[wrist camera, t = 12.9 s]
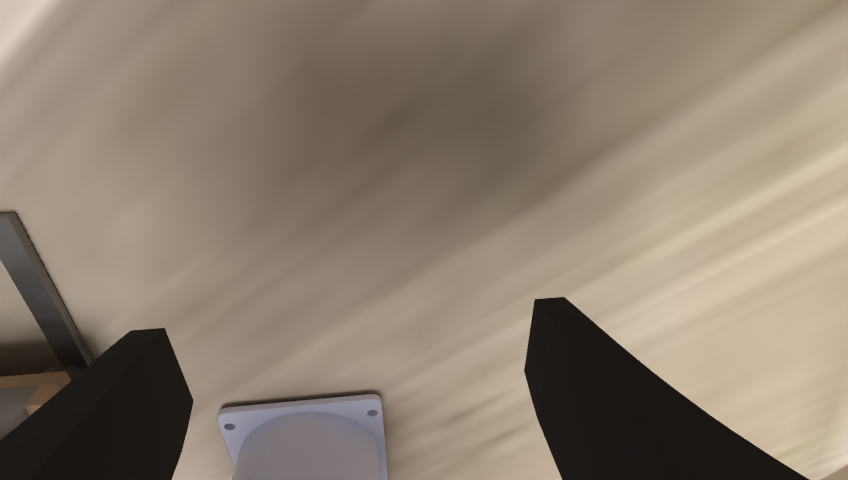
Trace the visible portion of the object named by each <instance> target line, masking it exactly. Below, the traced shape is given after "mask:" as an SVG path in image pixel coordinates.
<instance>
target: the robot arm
mask: <svg viewBox="0 0 848 480" xmlns="http://www.w3.org/2000/svg"><path fill="white" fill-rule="evenodd" d="M524 371H525V375H526V379H527V383H528V387H529V390H530V394H531V398H532V401H533V405H534V408H535V412H536V415H537V418H538V421H539V423H540V426H541V428H542V431H543V433H544V436H545V438H546V441H547V443H548V446H549V448H550V451H551V453H552V456H553V458H554V460H555V463H556V465H557V468H558V470H559V473H560V475H561V477H562V480H809V479H807V478H806V477H804V476H802V475H801V474H799V473H797V472H796V471H794V470H792V469H791V468H789V467H788V466H786V465H784V464H783V463H781V462H779V461H778V460H776V459H775V458H773V457H772V456H770V455H769V454H767V453H765V452H764V451H762V450H761V449H759V448H758V447H756V446H755V445H753V444H752V443H750V442H749V441H747V440H746V439H744V438H743V437H741V436H740V435H738V434H737V433H735V432H734V431H732V430H730V429H729V428H728V427H726V426H725V425H723V424H722V423H720V422H719V421H718V420H716V419H715V418H713V417H712V416H710V415H709V414H708V413H706V412H705V411H703V410H702V409H701V408H699V407H698V406H697V405H695V404H694V403H693V402H691V401H690V400H689V399H687V398H686V397H685V396H683V395H682V394H681V393H679V392H678V391H677V390H675V389H674V388H673V387H671V386H670V385H669V384H667V383H666V382H665V381H664V380H662V379H661V378H660V377H658V376H657V375H656V374H655V373H653V372H652V371H651V370H650V369H648V368H647V367H646V366H645V365H643V364H642V363H641V362H640V361H639V360H637V359H636V358H635V357H634V356H632V355H631V354H630V353H629V352H628V351H626V350H625V349H624V348H623V347H622V346H620V345H619V344H618V343H617V342H616V341H615V340H613V339H612V338H611V337H610V336H609V335H608V334H606V333H605V332H604V331H603V330H602V329H601V328H599V327H598V326H597V325H596V324H595V323H594V322H593V321H591V320H590V319H589V318H588V317H587V316H586V315H585V314H583V313H582V312H581V311H580V310H579V309H578V308H576V307H575V306H574V305H573V304H572V303H571V302H569V301H568V300H567V299H566V298H565V297H559V298H546V299H535V301H534V308H533V315H532V322H531V329H530V336H529V342H528V349H527V356H526V363H525V370H524ZM192 406H193V398H192V396H191V393H190V391H189V388H188V386H187V383H186V381H185V378H184V376H183V373H182V371H181V368H180V366H179V363H178V361H177V358H176V356H175V353H174V351H173V348H172V346H171V343H170V341H169V338H168V336H167V333H166V331H165V328H159V329H146V330H133V331H130V332H129V333H127V334H126V335H125V336H123V337H122V338H121V339H120V340H118V341H117V342H116V343H115V344H114V345H112V346H111V347H110V348H109V349H108V350H106V351H105V352H104V353H103V354H102V355H101V356H99V357H98V358H97V359H96V360H95V361H94V362H92V363H91V364H90V365H89V366H88V367H87V368H85V369H84V370H83V371H82V372H81V373H80V374H78V375H77V376H76V377H75V378H74V379H73V380H71V381H70V382H69V383H68V384H67V385H66V386H64V387H63V388H62V389H61V390H60V391H59V392H57V393H56V394H55V395H54V396H53V397H52V398H50V399H49V400H48V401H47V402H46V403H44V404H43V405H42V406H41V407H40V408H39V409H37V410H36V411H35V412H34V413H33V414H31V415H30V416H29V417H28V418H27V419H26V420H24V421H23V422H22V423H21V424H20V425H18V426H17V427H16V428H15V429H13V430H12V431H11V432H10V433H8V434H7V435H6V436H5V437H3V438H2V439H1V440H0V480H171V479H172V477H173V474H174V471H175V469H176V466H177V463H178V460H179V458H180V455H181V452H182V448H183V444H184V440H185V436H186V432H187V428H188V424H189V419H190V415H191V410H192ZM217 422H218V424H219V427H220V430H221V433H222V435H223V438H224V441H225V443H226V446H227V449H228V451H229V454H230V457H231V460H232V462H233V465H234V468H235V471H234V475H233V479H232V480H388V472H387V460H386V448H385V436H384V424H383V412H382V400H381V398H380V397H379V396H378V395H375V394H367V395H356V396H345V397H334V398H324V399H313V400H302V401H291V402H281V403H270V404H259V405H248V406H237V407H227V408H223V409H221V410H220V411H219V413H218V416H217Z"/></svg>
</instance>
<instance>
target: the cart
mask: <svg viewBox="0 0 848 480" xmlns="http://www.w3.org/2000/svg"><path fill="white" fill-rule="evenodd" d="M81 372H82V370H81V369H80V368H78V367H77V366H65V367H53V368H48V369H46V370H44V371H43V372H42V373H40V374H28V375H16V376H4V377H0V440H1V439H2V438H3V437H5V436H6V435H7V434H8V433H10V432H11V431H12V430H13V429H15V428H16V427H17V426H18V425H20V424H21V423H22V422H23V421H24V420H26V419H27V418H28V417H29V416H30V415H31V414H33V413H34V412H35V411H36V410H37V409H39V408H40V407H41V406H42V405H43V404H44V403H46V402H47V401H48V400H49V399H50V398H52V397H53V396H54V395H55V394H56V393H57V392H59V391H60V390H61V389H62V388H63V387H64V386H66V385H67V384H68V383H69V382H70V381H71V380H73V379H74V378H75V377H76V376H77V375H78V374H80V373H81Z"/></svg>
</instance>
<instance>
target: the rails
mask: <svg viewBox="0 0 848 480" xmlns="http://www.w3.org/2000/svg"><path fill="white" fill-rule="evenodd" d="M0 259H1V261H2V263H3V264H4V266H5V268H6V269H7V271H8V273H9V275H10V276H11V278H12V280H13V281H14V283H15V285H16V287H17V288H18V290H19V292H20V293H21V295H22V297H23V299H24V300H25V302H26V304H27V306H28V307H29V309H30V311H31V312H32V314H33V316H34V318H35V319H36V321H37V323H38V324H39V326H40V328H41V330H42V331H43V333H44V335H45V336H46V338H47V340H48V342H49V343H50V345H51V347H52V348H53V350H54V352H55V354H56V355H57V357H58V359H59V361H60V362H61V364H62V366H63V367H65V366H77V367H78V368H80V369H81V370H82V371H83V370H84V369H85V368H87V367H88V366H89V365H90V364H91V363H92V362H94V361H93V359H92V357H91V355H90V353H89V351H88V349H87V347H86V345H85V344H84V342H83V340H82V338H81V336H80V334H79V332H78V330H77V328H76V327H75V325H74V323H73V321H72V319H71V317H70V315H69V313H68V311H67V310H66V308H65V306H64V304H63V302H62V300H61V298H60V296H59V294H58V293H57V291H56V289H55V287H54V285H53V283H52V281H51V279H50V277H49V276H48V274H47V272H46V270H45V268H44V266H43V264H42V262H41V260H40V258H39V257H38V255H37V253H36V251H35V249H34V247H33V245H32V243H31V241H30V240H29V238H28V236H27V234H26V232H25V230H24V228H23V226H22V224H21V223H20V221H19V219H18V217H17V215H16V213H15V212H10V213H0Z"/></svg>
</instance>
